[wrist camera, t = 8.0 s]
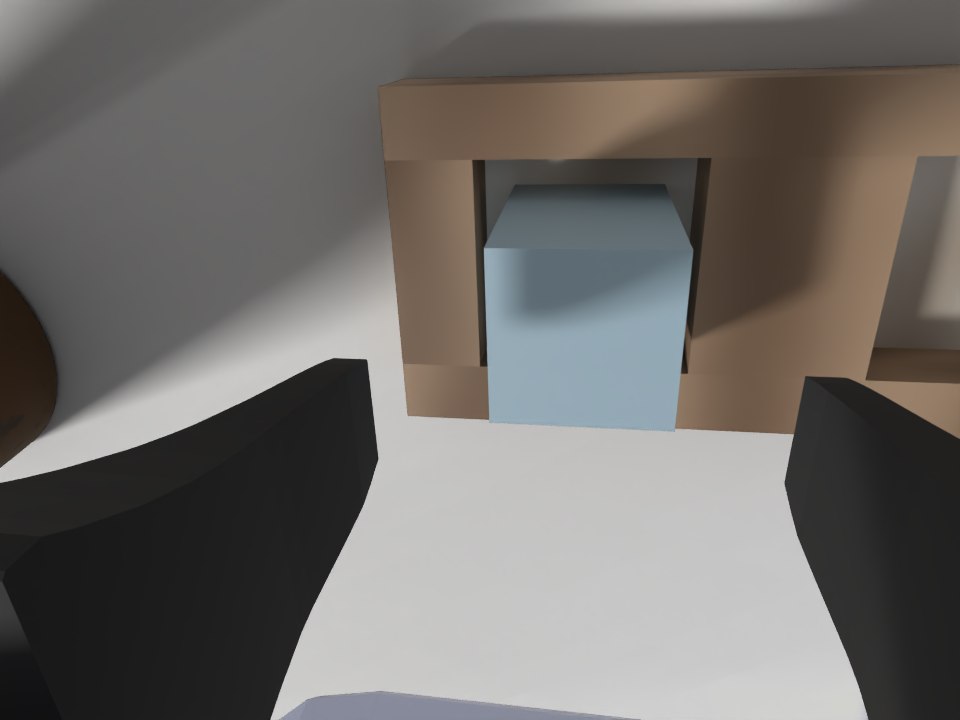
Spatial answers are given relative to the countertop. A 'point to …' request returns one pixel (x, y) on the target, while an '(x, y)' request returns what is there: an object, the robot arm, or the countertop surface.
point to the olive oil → (22, 374)
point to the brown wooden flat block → (703, 224)
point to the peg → (586, 306)
